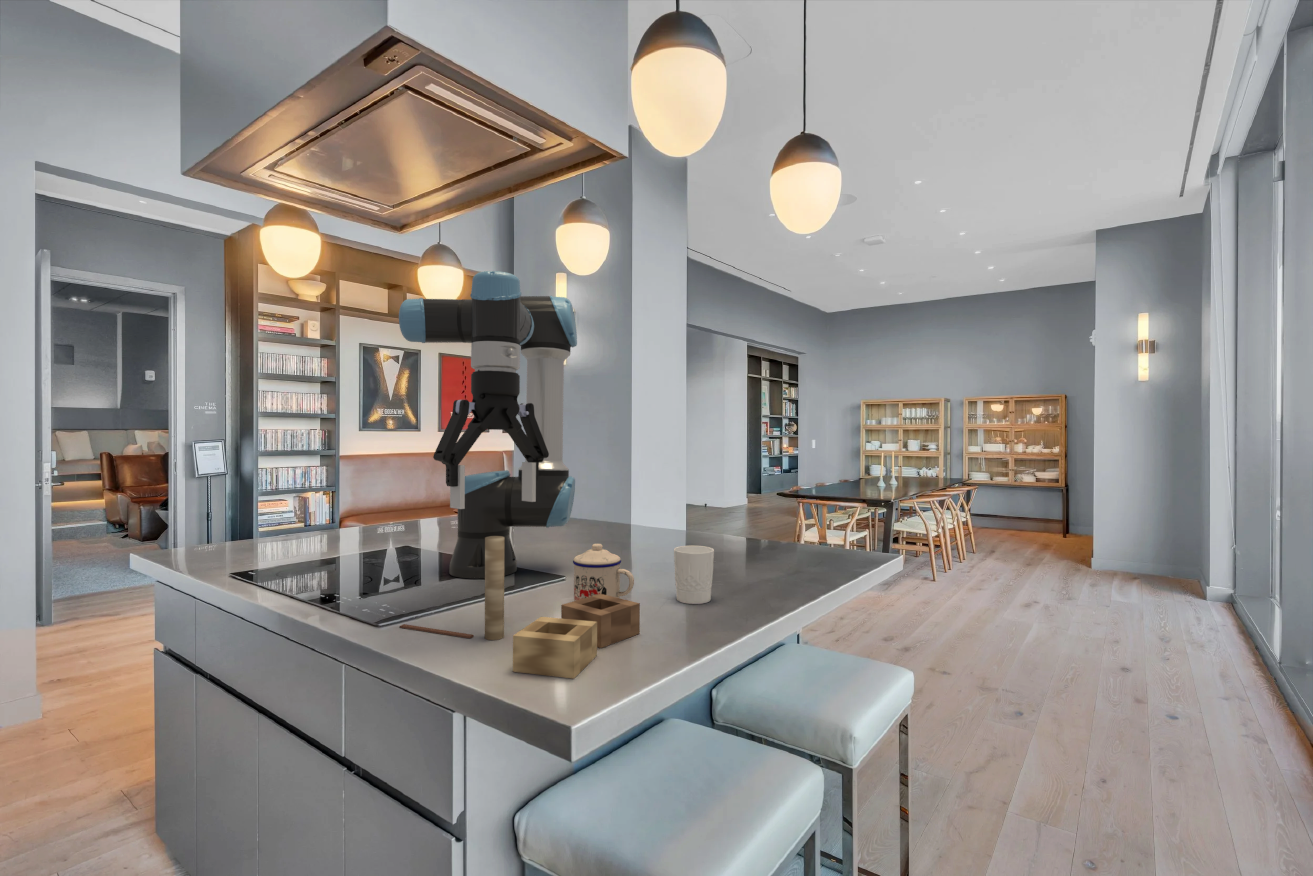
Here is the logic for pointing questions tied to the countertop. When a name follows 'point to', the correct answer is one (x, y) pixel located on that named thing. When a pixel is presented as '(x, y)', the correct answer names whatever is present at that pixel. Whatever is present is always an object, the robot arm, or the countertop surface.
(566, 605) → the bead dark
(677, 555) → the white cup
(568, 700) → the countertop surface
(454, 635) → the brown wooden stick
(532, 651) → the light wooden square frame
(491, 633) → the beige wooden dowel
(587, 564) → the teacup with lid
